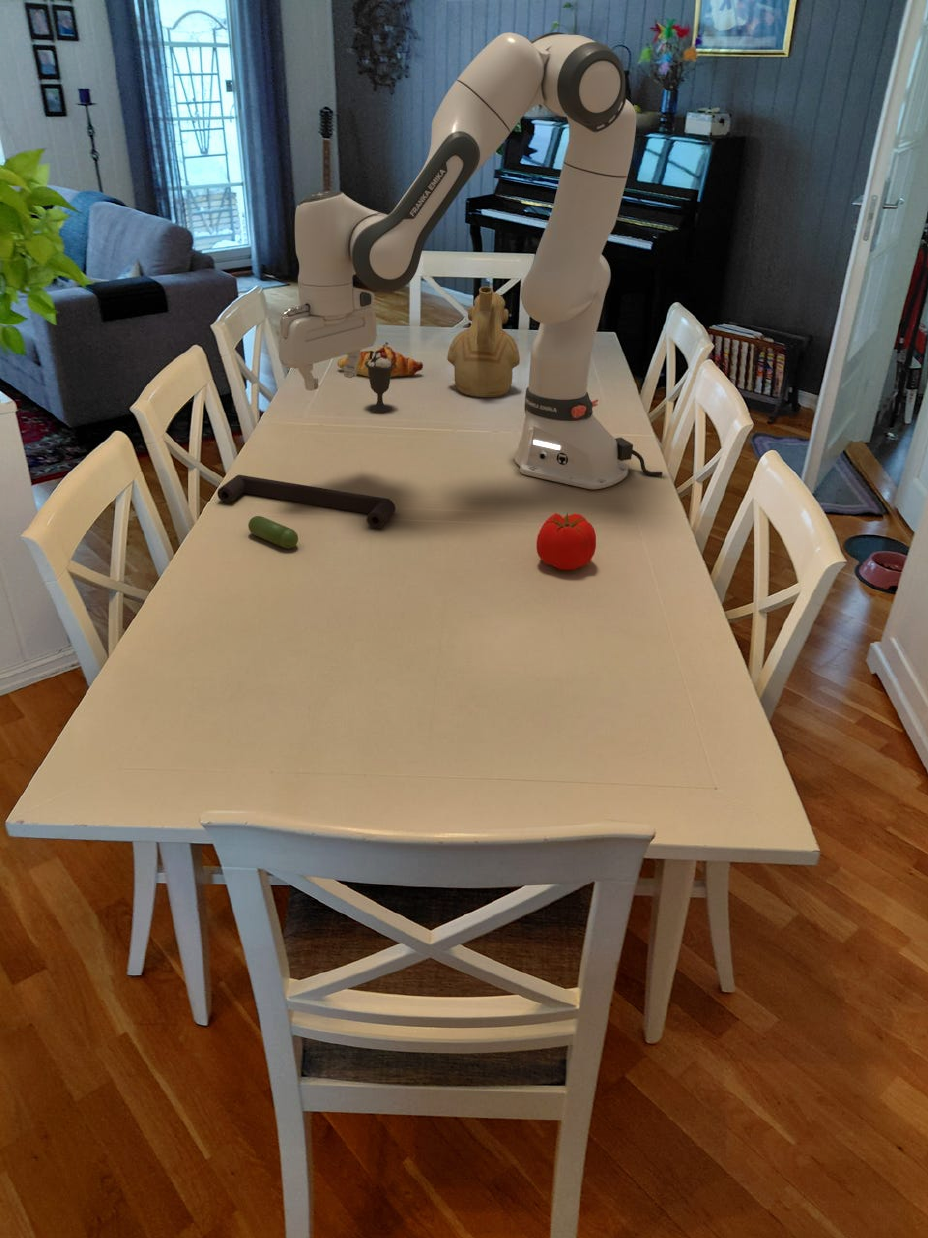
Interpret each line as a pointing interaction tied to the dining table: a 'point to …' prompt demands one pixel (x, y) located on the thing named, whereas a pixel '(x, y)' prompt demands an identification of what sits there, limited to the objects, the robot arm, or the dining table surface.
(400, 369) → the croissant
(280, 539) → the pickle
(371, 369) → the sundae
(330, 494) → the handle
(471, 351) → the ceramic vessel
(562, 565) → the tomato
